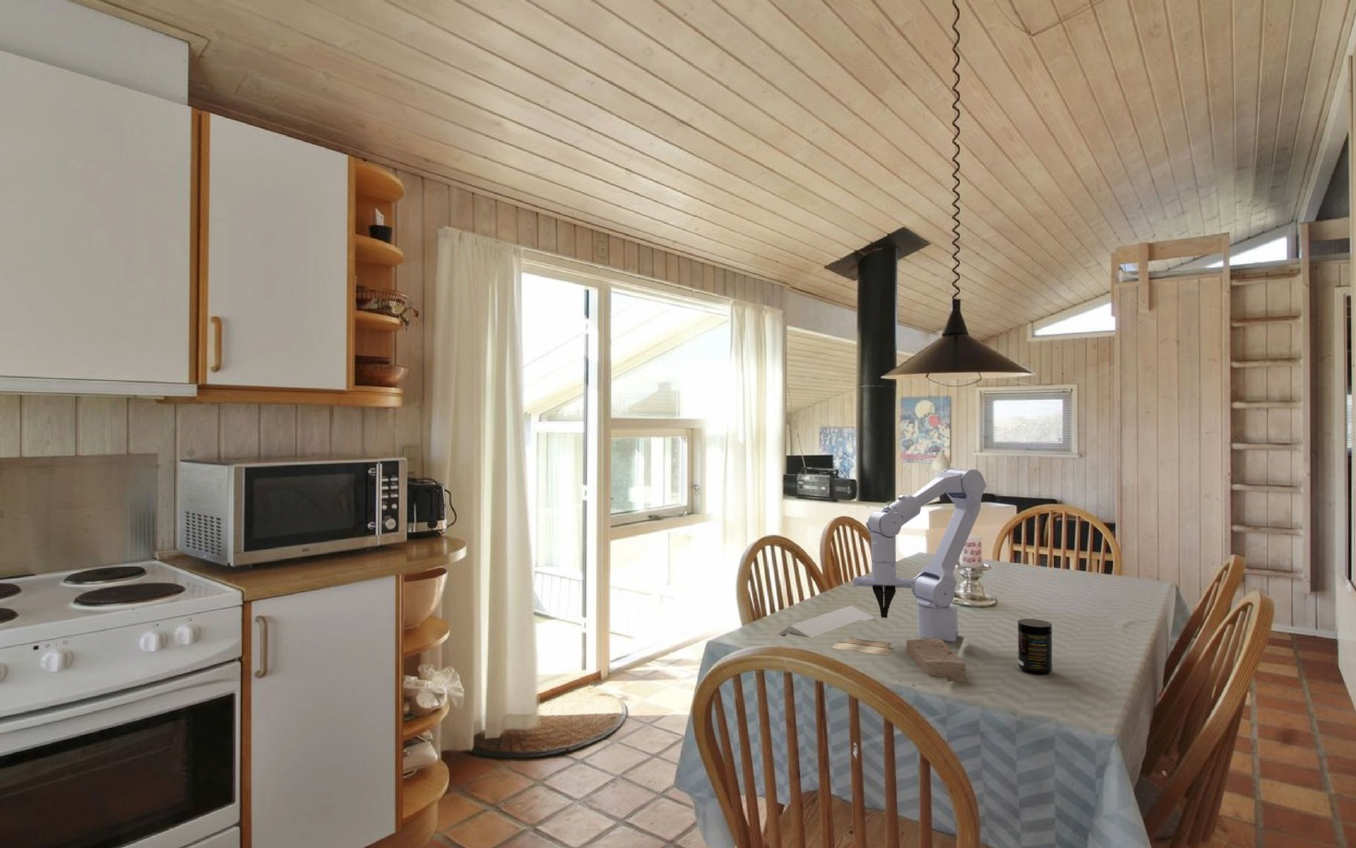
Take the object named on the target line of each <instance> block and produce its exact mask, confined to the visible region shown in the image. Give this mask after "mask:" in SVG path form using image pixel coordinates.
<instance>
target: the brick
mask: <svg viewBox="0 0 1356 848" xmlns="http://www.w3.org/2000/svg"><path fill="white" fill-rule="evenodd" d="M944 641H945V640H939V639H926V638H920V639H915V638H914V639H907V640H906V642H905V643H906V654H907V655H908V657H909V658H911V659H912V661H913V662H914V663H915V664H916V665H917V666H918V667H919V668H920V669H921V670H922V672H924V674H926V675H927V676H929V677H931V676H933V677H936V676H937V677H941V676H942V677H944V676H945V677H946V676H947V677H948V678H947V680H946V682H950V681H965V682H966V675H967V672H966V668H965V667H966V663H965V662H964V661H963V659H962V658H960V657H959V656H958V655H957V654H955V653H954V652H952V649H950V648H949V646H948V645H947V644H946V642H944Z"/></svg>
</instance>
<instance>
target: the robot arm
mask: <svg viewBox="0 0 1356 848" xmlns="http://www.w3.org/2000/svg"><path fill="white" fill-rule="evenodd" d="M986 488H987V484H986V481H985V478H984V476H983V474H982V473H981V472H980V470H977V469H966V468H965V469H963V468H954V467H947V468H945V469H944V470H943V471H941V472H939V473H937V475H936V477H935V478H933V479H932V480H931V481H930V482H928V483H927V484H926V485H924V486H923V487H921V488H920V489H919V490H918V491H917V492H915V493H914V494H913V495H910V494H900V495H898V497H897V499H896V500H895V501H893V502H892V503H891V504H889V505H885V506H883V509H882V510H877V511H874V512H872V513H871V514H870V515H869V517H868V519H867V521H866V522H865V526H866V529H867V530H868V532H869V533H870V539H871V541H870V542H871V543H870V544H871V576H860V577H859V576H858V577H856V576H853V577H852V587H870V588H871V589H872V592H873V593H874V596H875V599H876V600H877V603H878V606H879V612H880V613H879V614H880V618H882V619H888V613H889V609H890V606H891V604H892V601H893V599H894V597H895V595H896V593H897V589H896V588H898V589H910V590H911V593H912V595H913V596H914V597H915V599H916V601H915V602H916V603H917V636H919V637H920V638H921V639H939V640H942V641H947V642H956V641H957V638H958V637H959V629H958V628H959V627H958V623H959V622H958V620H959V619H958V607H956V606H951V604H952V602H953V601H954V599H955V595H956V593H955V591H956V586H957V583H958V581H957V578H956V577H955V574H954V570H955V568H956V566H957V563H958V561H959V559H960V557H961V555H962V552H963V550H964V547H965V546H966V543H967V542H968V541H967V540H968V539H969V537H970V535H971V531H972V529H973V528H974V525H975V524H976V521H977V518H978V516H979V513H980V511H981V505H982V497H983V494H984V492H985V490H986ZM944 494H946V495H947V496H948V498H949V499H950V500H951V502H952V503H953V505H954V511H953V513H952V515H951V518H950V519H949V522H948V525H947V526H946V529H945V530H944V533H943V536H942V538H941V539H940V541H939V544H938V547H937V549H936V551H935V554H934V556H933V558H932V560H931V562H930V563H928V564H927V565H924V566H923V567H922V568H921V569H920V571H919V573H918V574H917V575H915V577H914V578H911V579H909V578H903V577H902V578H901V577H900V578H899V577H897V564H896V563H897V557H896V556H897V555H896V554H897V553H896V551H897V548H896V546H897V545H896V544H897V543H896V539H897V538H896V537H897V536H898V534H899V533H900V532H901V529H902V527H903V526H904V525H905V524H907V523H908V522H910V521H911V520H912V519H914V518H916V517H918V515H920V514H921V508H922V507H924V506H925V505H926V504H928V503H930V502H932V501H934V500H936V499H938V498H939V497H940V496H942V495H944Z"/></svg>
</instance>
